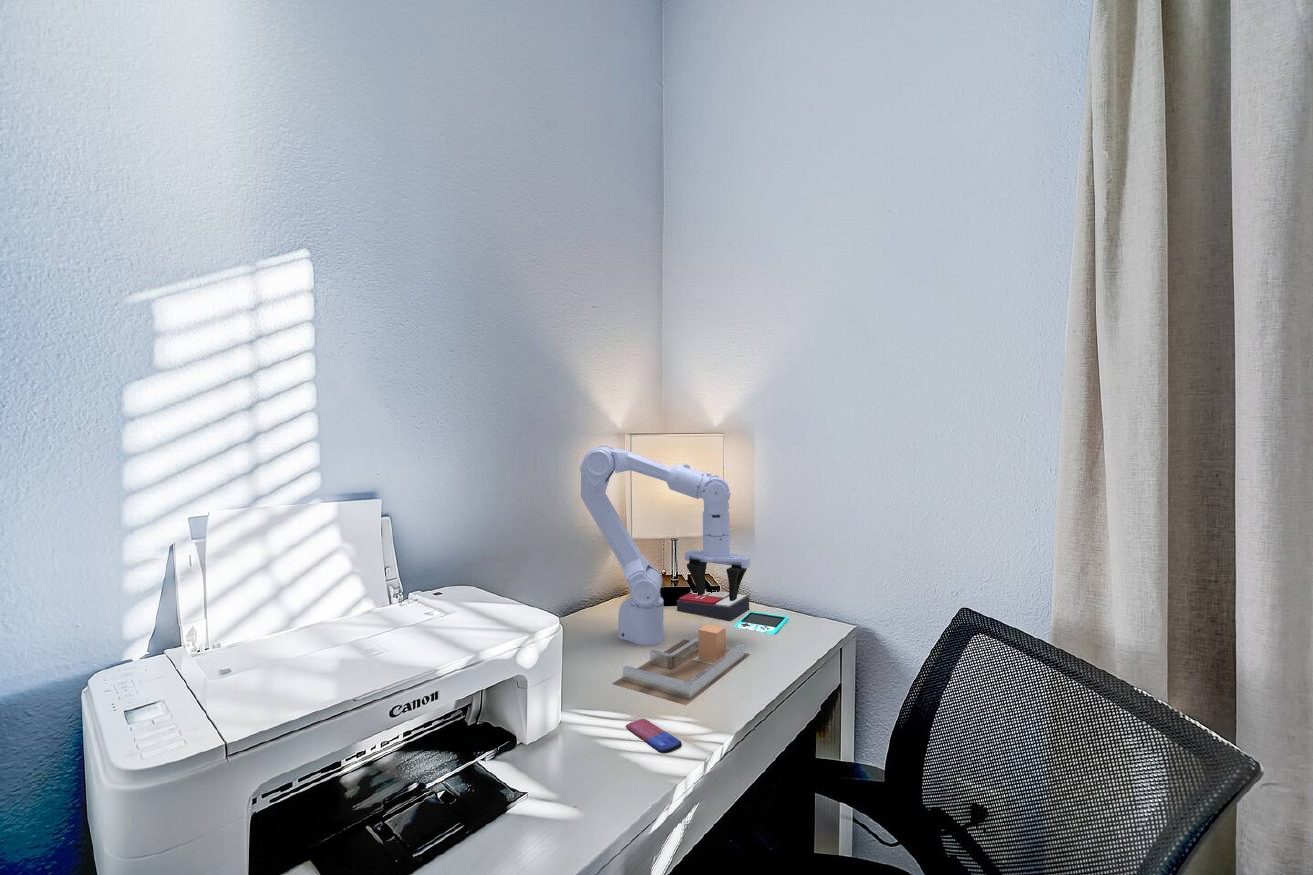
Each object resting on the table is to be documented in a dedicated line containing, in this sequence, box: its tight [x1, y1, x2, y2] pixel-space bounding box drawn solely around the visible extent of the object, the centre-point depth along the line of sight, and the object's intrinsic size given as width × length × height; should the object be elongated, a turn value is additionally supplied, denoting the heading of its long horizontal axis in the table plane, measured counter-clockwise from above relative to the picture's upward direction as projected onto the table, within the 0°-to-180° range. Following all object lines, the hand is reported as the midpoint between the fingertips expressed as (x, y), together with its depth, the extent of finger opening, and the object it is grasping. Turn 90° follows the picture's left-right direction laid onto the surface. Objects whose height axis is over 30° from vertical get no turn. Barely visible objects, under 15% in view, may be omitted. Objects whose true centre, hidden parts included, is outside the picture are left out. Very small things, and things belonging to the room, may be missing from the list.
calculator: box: [676, 590, 750, 622], centre depth 160 cm, size 11×4×15 cm
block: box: [697, 623, 727, 663], centre depth 126 cm, size 4×4×6 cm
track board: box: [611, 638, 752, 706], centre depth 122 cm, size 16×26×1 cm, turn 147°
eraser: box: [624, 718, 683, 754], centre depth 97 cm, size 11×4×2 cm, turn 37°
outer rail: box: [622, 643, 745, 700], centre depth 121 cm, size 14×22×2 cm, turn 147°
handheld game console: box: [733, 611, 790, 636], centre depth 148 cm, size 10×16×1 cm, turn 153°
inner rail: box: [649, 636, 698, 670], centre depth 128 cm, size 5×13×2 cm, turn 147°
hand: (717, 597), depth 136 cm, fingers open, 7 cm apart
